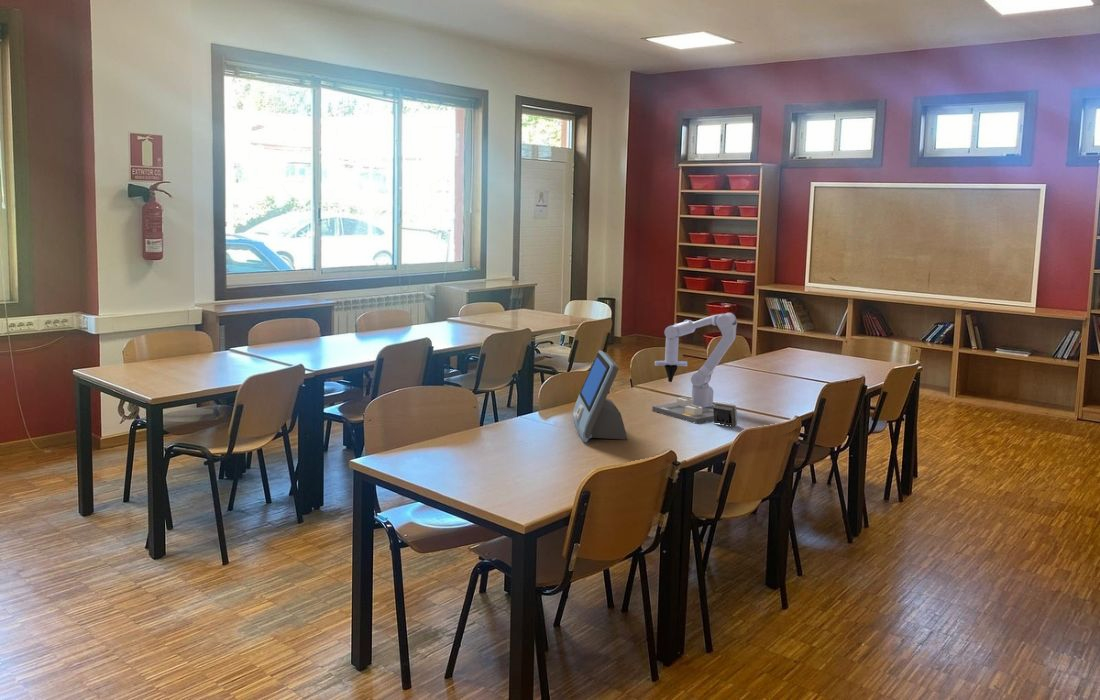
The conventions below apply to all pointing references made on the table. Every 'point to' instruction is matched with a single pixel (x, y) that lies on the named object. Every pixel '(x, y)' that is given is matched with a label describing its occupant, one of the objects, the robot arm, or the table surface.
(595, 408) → the touchscreen device
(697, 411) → the slider
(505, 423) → the table surface
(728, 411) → the electrical switch
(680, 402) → the slider
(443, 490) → the table surface
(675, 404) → the switch panel
